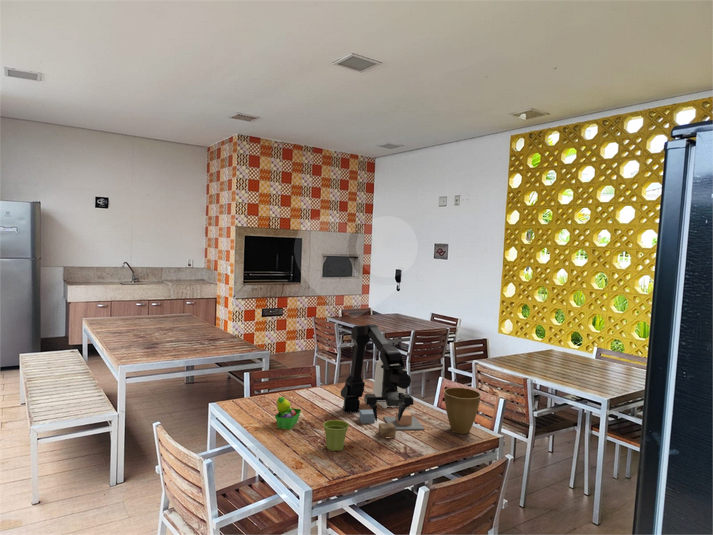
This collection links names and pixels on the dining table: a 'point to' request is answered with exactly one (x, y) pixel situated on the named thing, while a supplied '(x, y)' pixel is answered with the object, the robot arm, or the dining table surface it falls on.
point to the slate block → (367, 416)
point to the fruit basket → (286, 414)
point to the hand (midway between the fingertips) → (387, 420)
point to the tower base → (405, 427)
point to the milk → (378, 384)
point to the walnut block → (387, 430)
